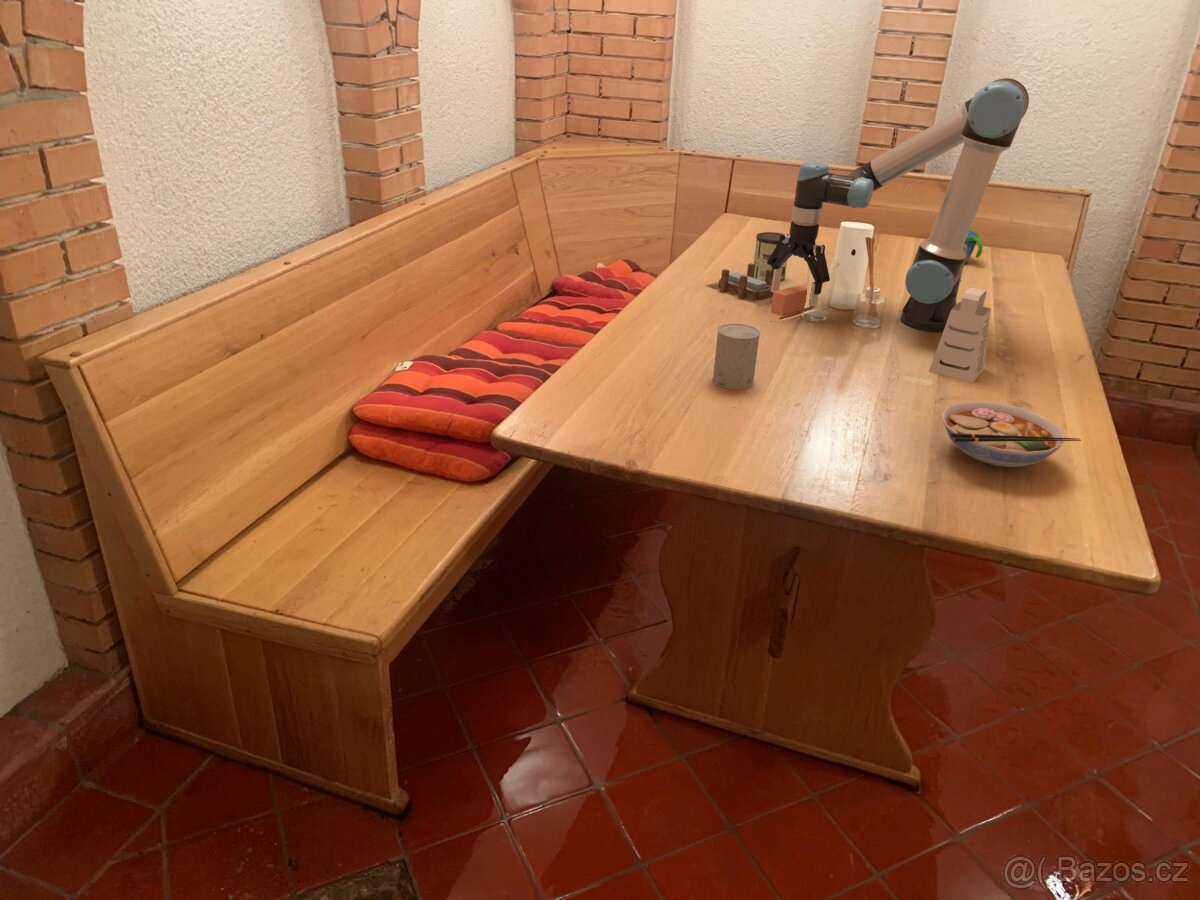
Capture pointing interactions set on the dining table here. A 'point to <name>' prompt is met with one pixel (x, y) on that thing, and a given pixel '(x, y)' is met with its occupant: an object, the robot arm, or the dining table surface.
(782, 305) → the orange block
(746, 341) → the grey concrete cylinder
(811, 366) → the dining table surface
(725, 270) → the jig
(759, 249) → the coffee can
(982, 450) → the ramen bowl
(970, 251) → the snack cup
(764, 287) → the blue-grey block
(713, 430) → the dining table surface
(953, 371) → the grater
